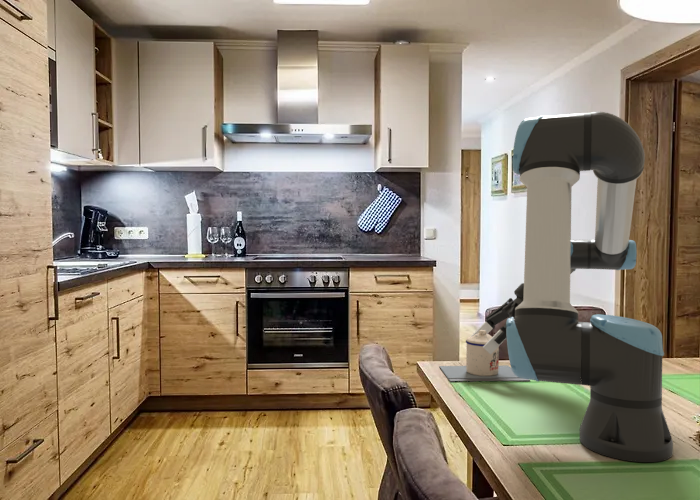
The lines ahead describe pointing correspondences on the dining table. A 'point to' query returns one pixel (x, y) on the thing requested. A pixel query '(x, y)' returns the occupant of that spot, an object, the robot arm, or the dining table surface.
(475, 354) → the teacup with lid
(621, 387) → the robot arm
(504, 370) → the slate mat
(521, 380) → the black line strip
